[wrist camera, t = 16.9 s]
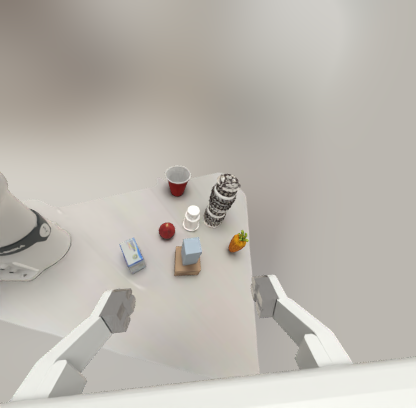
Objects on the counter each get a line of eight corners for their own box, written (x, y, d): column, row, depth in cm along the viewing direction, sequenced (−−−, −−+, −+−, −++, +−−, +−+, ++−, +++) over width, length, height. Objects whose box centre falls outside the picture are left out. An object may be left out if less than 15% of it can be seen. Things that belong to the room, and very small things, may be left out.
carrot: (236, 257, 60) (253, 242, 49) (224, 256, 59) (238, 240, 48) (235, 245, 63) (251, 228, 52) (224, 244, 63) (237, 226, 51)
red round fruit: (175, 240, 59) (177, 230, 53) (160, 243, 57) (159, 233, 51) (173, 227, 62) (173, 216, 56) (158, 229, 60) (157, 219, 54)
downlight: (202, 228, 65) (206, 215, 57) (187, 235, 61) (189, 221, 54) (193, 214, 68) (196, 200, 61) (179, 219, 65) (180, 205, 58)
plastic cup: (162, 185, 74) (162, 166, 65) (184, 182, 79) (186, 164, 69) (168, 202, 69) (168, 184, 60) (190, 198, 73) (194, 180, 64)
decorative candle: (199, 225, 65) (214, 184, 46) (204, 208, 71) (219, 166, 52) (220, 231, 66) (242, 193, 46) (223, 214, 72) (244, 174, 52)
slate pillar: (182, 265, 48) (185, 254, 41) (180, 252, 51) (183, 239, 43) (196, 263, 50) (202, 251, 42) (194, 250, 52) (198, 237, 45)
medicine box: (124, 253, 52) (118, 243, 46) (137, 247, 55) (133, 236, 48) (132, 274, 49) (127, 266, 43) (146, 266, 51) (143, 258, 45)
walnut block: (174, 275, 52) (175, 271, 47) (175, 252, 56) (176, 246, 52) (197, 274, 54) (200, 270, 49) (196, 252, 58) (199, 246, 54)
